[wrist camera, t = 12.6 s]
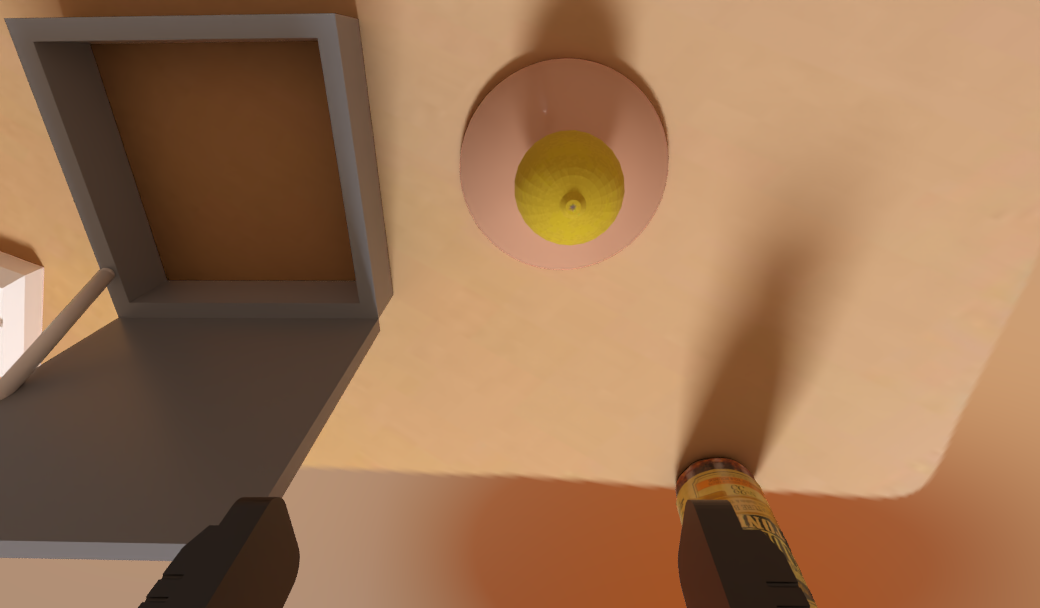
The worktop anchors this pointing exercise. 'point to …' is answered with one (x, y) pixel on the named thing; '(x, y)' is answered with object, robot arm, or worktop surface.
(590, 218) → the lemon
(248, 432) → the case
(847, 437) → the worktop surface
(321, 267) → the worktop surface
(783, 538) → the sauce bottle
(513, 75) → the saucer
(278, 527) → the robot arm
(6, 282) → the white rocker switch
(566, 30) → the worktop surface
